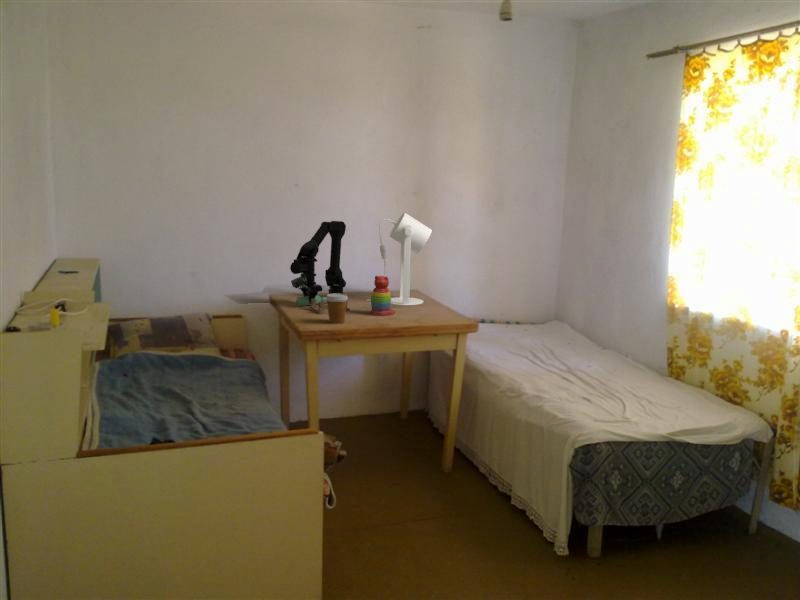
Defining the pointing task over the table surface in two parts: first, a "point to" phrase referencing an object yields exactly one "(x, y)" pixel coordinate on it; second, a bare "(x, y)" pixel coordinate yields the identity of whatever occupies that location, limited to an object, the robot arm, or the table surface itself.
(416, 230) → the desk lamp
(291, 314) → the table surface
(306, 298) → the bottle
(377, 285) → the stacking bear
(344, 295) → the disposable coffee cup
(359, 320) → the table surface
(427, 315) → the table surface
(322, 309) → the cradle
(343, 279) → the robot arm
